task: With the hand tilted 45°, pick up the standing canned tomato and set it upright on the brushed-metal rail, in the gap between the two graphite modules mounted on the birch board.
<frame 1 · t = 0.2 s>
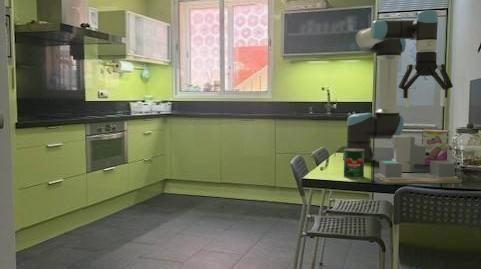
hand: (424, 106, 185), 28 cm above the table, tool pointing down, fingers open, 13 cm apart
canned tomato: (353, 177, 189), on the table
rail board: (415, 179, 181), on the table
circuit breaker: (409, 171, 201), on the table
candy bar box: (434, 166, 216), on the table
near module: (390, 168, 181), on the DIN rail, point 4 cm above the table
DIN rail: (415, 176, 181), on the rail board, point 1 cm above the table
far module: (442, 168, 181), on the DIN rail, point 4 cm above the table
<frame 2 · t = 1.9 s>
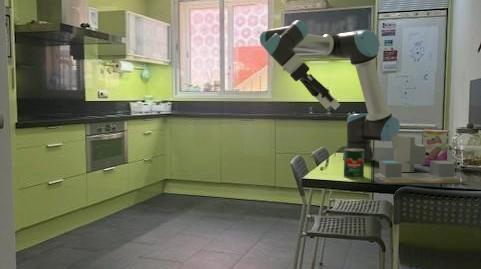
hand: (333, 107, 186), 28 cm above the table, tool tilted 45°, fingers open, 13 cm apart
nothing on the table moved.
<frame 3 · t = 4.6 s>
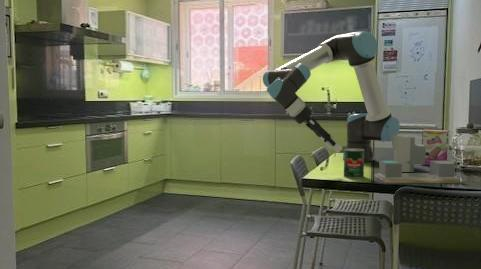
hand: (336, 148, 188), 11 cm above the table, tool tilted 45°, fingers open, 13 cm apart
nothing on the table moved.
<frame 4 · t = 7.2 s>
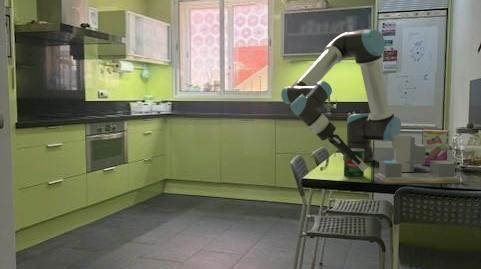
hand: (362, 167, 189), 4 cm above the table, tool tilted 45°, fingers closed on canned tomato, 8 cm apart
canned tomato: (353, 176, 189), on the table, touching gripper
everything else where it was.
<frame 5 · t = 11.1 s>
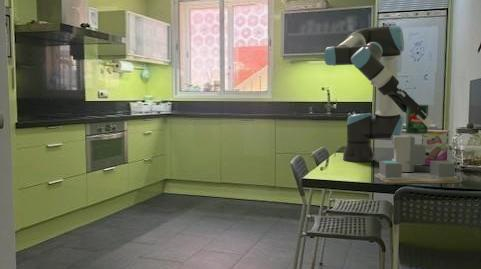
hand: (425, 124, 180), 21 cm above the table, tool tilted 45°, fingers closed on canned tomato, 8 cm apart
canned tomato: (416, 134, 180), point 18 cm above the table, touching gripper
everything else where it was.
when the fingers open (7 cm above the table, at t = 14.9 s): canned tomato drops 2 cm, resting on DIN rail.
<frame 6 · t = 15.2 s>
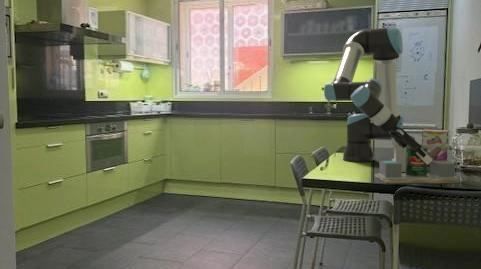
hand: (423, 160, 181), 8 cm above the table, tool tilted 45°, fingers open, 11 cm apart
canned tomato: (415, 175, 181), point 2 cm above the table, touching DIN rail
everything else where it was.
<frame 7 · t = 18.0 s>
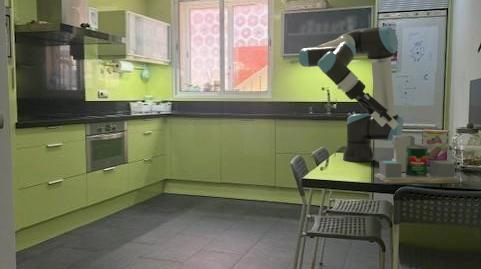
hand: (390, 125, 180), 21 cm above the table, tool tilted 45°, fingers open, 13 cm apart
nothing on the table moved.
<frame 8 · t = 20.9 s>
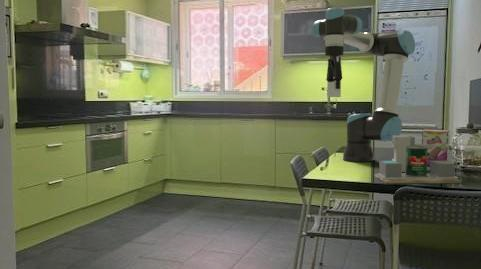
hand: (333, 97, 198), 32 cm above the table, tool pointing down, fingers open, 13 cm apart
nothing on the table moved.
at the end: canned tomato 0.2 cm off-centre on the rail board, point 1.6 cm above the rail board's base; canned tomato tilted 0°; the gripper is holding nothing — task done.
